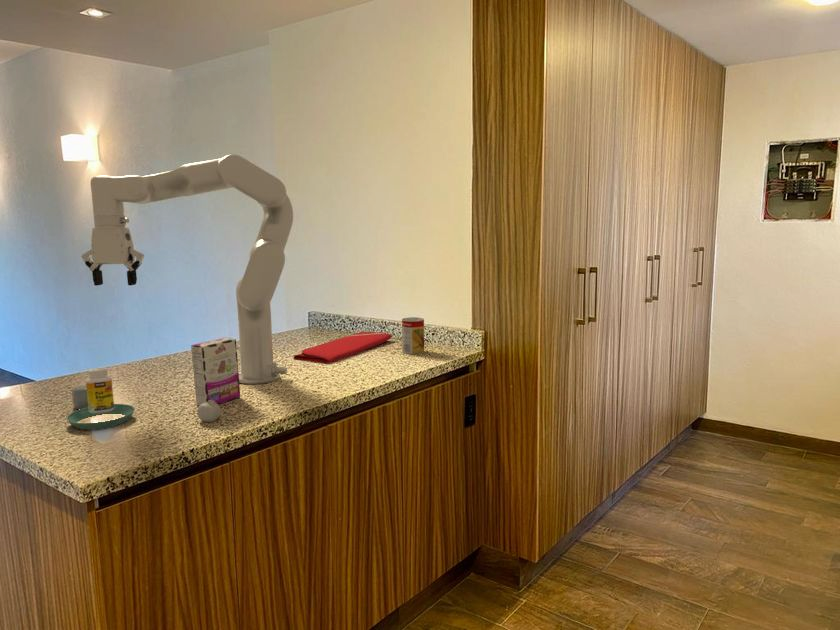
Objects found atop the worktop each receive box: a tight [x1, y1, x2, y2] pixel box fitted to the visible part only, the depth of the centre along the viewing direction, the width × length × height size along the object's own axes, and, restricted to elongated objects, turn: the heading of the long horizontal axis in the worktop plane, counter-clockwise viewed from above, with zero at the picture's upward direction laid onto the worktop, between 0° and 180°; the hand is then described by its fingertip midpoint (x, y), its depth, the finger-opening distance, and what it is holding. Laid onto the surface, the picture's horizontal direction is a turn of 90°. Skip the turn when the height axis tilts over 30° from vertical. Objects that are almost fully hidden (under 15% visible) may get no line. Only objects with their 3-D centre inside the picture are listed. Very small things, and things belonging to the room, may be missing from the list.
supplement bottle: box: [85, 368, 115, 414], centre depth 149 cm, size 6×6×10 cm
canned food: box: [401, 316, 425, 356], centre depth 220 cm, size 8×8×12 cm
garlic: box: [196, 400, 222, 423], centre depth 149 cm, size 6×5×5 cm
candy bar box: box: [190, 337, 241, 407], centre depth 163 cm, size 11×5×16 cm, turn 148°
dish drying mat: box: [292, 331, 393, 365], centre depth 226 cm, size 16×41×4 cm, turn 151°
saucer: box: [66, 403, 136, 430], centre depth 149 cm, size 15×15×3 cm
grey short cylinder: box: [71, 384, 88, 410], centre depth 162 cm, size 7×7×5 cm
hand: (115, 284), depth 171 cm, fingers open, 9 cm apart
